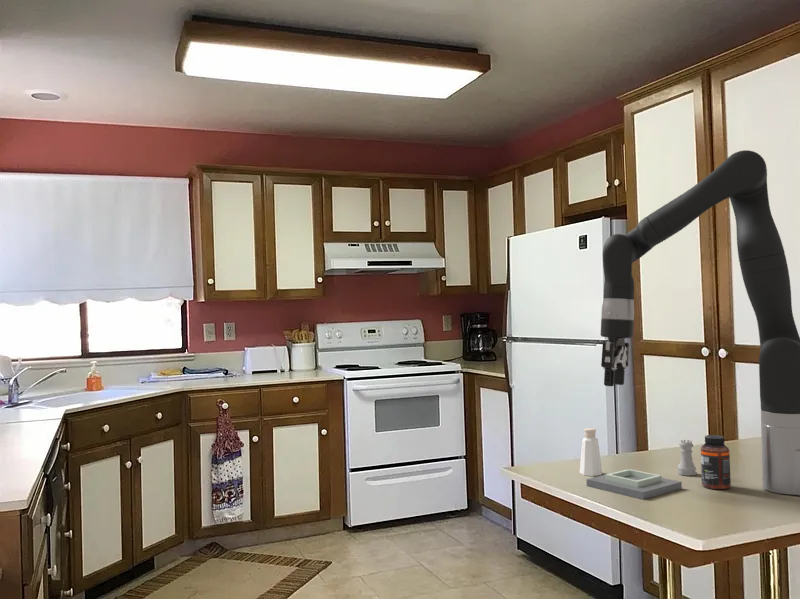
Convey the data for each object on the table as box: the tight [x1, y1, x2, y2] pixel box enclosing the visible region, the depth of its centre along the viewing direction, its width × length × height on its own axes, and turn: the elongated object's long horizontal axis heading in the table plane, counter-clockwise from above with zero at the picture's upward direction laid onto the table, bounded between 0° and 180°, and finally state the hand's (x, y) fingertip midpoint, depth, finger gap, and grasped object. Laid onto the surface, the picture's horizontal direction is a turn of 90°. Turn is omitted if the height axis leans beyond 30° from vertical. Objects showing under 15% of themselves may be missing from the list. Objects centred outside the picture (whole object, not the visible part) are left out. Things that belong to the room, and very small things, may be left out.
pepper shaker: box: [579, 427, 603, 477], centre depth 174 cm, size 5×5×11 cm
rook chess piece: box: [676, 439, 697, 477], centre depth 171 cm, size 4×4×8 cm
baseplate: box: [586, 468, 683, 500], centre depth 160 cm, size 15×14×3 cm
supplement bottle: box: [700, 434, 732, 491], centre depth 159 cm, size 6×6×11 cm
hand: (614, 385), depth 171 cm, fingers open, 8 cm apart
